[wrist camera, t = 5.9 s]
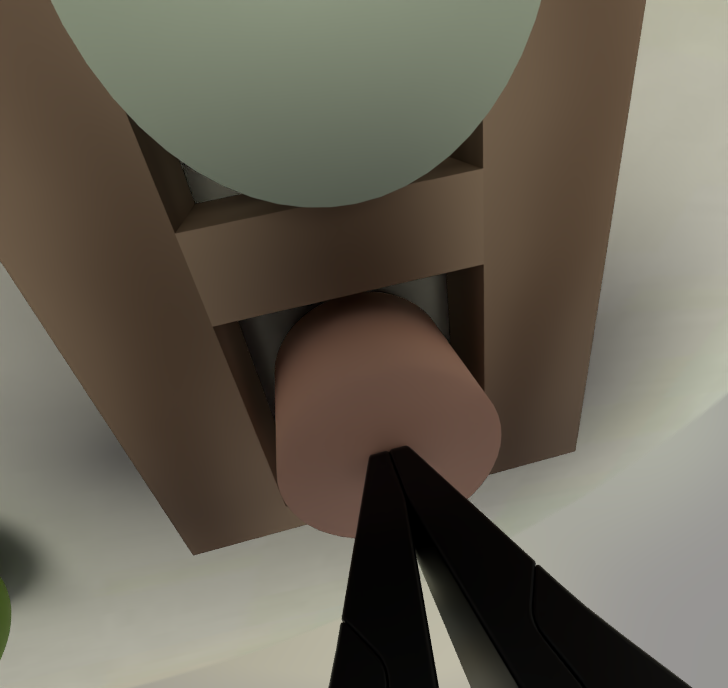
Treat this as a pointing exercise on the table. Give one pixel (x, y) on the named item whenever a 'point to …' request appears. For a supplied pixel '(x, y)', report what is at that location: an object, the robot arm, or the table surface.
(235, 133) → the sage button
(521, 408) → the wooden compartment tray
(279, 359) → the terracotta button
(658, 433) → the table surface
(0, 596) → the snail figurine
